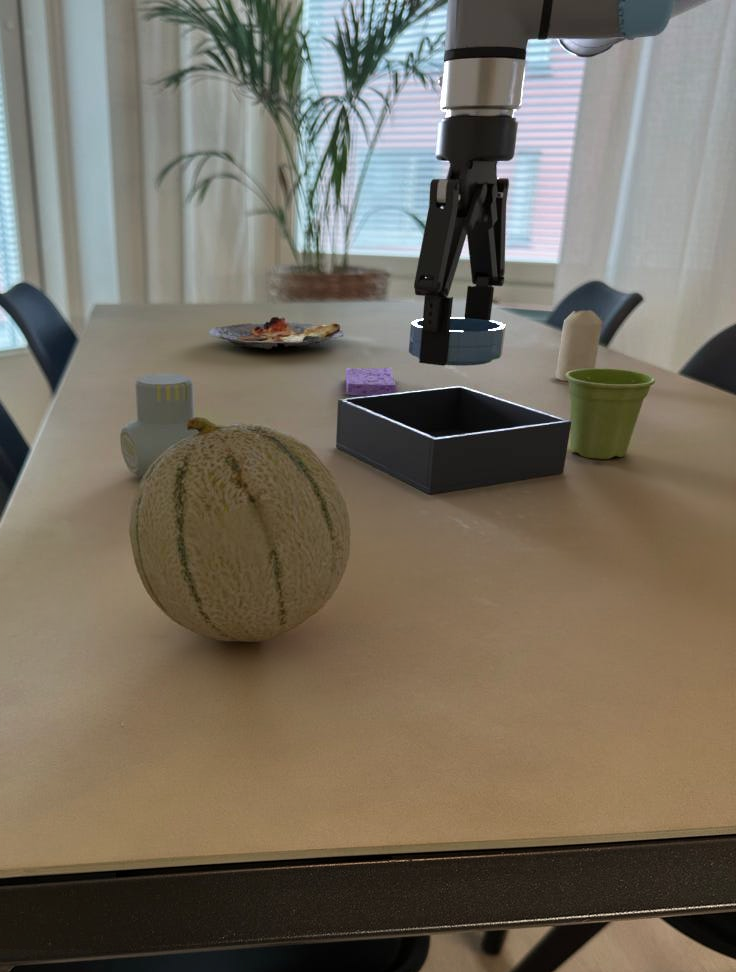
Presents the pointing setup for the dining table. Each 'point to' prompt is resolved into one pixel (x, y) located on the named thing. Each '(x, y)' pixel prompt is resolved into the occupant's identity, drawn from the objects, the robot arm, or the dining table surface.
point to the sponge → (370, 381)
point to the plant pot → (605, 409)
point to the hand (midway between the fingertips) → (454, 356)
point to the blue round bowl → (466, 341)
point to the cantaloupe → (239, 532)
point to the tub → (451, 438)
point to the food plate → (276, 333)
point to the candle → (578, 342)
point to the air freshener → (157, 419)
